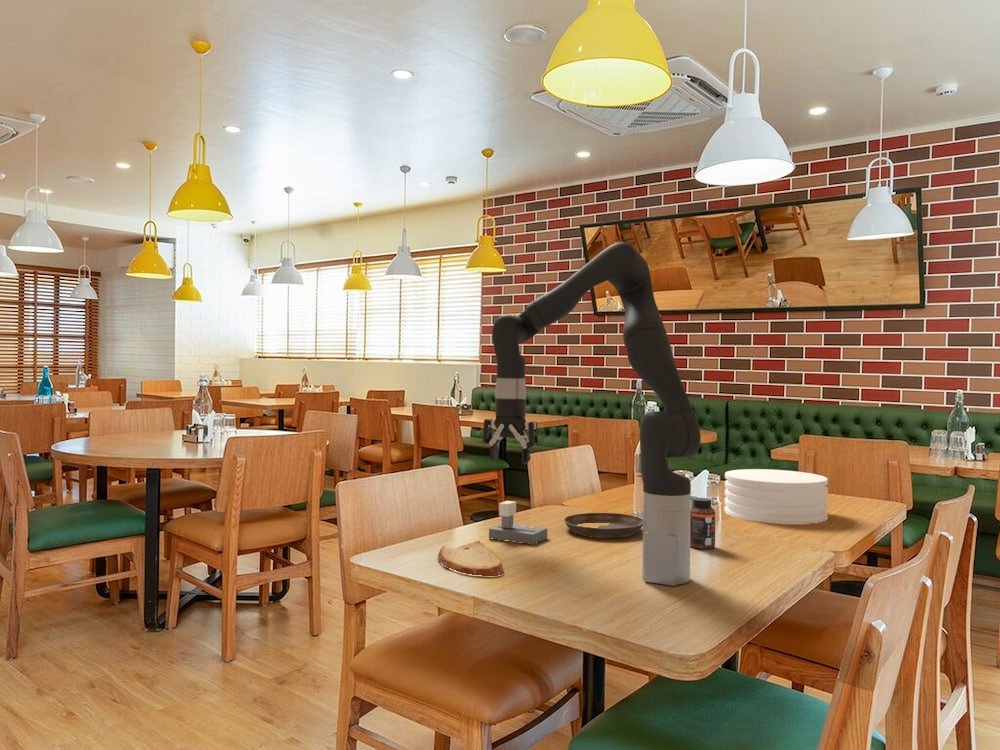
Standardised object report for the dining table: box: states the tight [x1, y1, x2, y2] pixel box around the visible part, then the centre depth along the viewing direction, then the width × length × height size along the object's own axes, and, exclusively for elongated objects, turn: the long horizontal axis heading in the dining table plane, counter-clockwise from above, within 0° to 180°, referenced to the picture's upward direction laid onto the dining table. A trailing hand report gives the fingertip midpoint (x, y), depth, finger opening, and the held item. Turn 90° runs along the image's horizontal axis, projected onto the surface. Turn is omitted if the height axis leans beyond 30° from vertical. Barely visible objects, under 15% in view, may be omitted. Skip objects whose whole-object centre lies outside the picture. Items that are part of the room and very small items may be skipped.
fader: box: [498, 500, 517, 528], centre depth 174 cm, size 4×3×6 cm, turn 151°
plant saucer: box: [563, 512, 643, 539], centre depth 183 cm, size 21×21×3 cm
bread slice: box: [437, 540, 505, 576], centre depth 151 cm, size 18×18×4 cm
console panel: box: [488, 523, 548, 545], centre depth 173 cm, size 8×12×3 cm, turn 61°
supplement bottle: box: [690, 497, 716, 550], centre depth 166 cm, size 6×6×11 cm
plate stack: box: [724, 468, 829, 525], centre depth 207 cm, size 28×28×12 cm
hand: (509, 462), depth 174 cm, fingers open, 8 cm apart
